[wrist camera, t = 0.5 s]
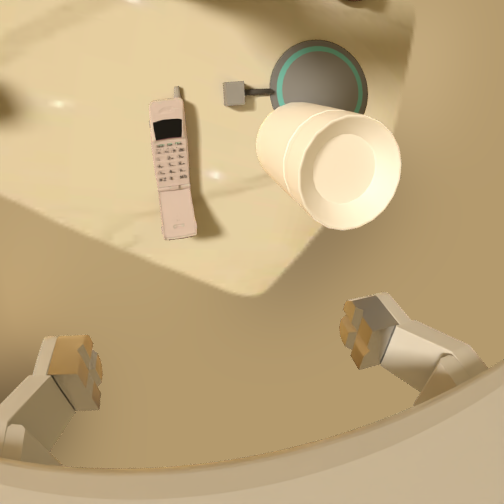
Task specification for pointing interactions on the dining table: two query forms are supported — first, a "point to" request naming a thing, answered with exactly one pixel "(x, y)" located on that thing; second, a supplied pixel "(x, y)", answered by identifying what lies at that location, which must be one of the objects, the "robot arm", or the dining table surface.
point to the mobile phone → (172, 166)
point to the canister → (331, 162)
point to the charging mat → (310, 79)
